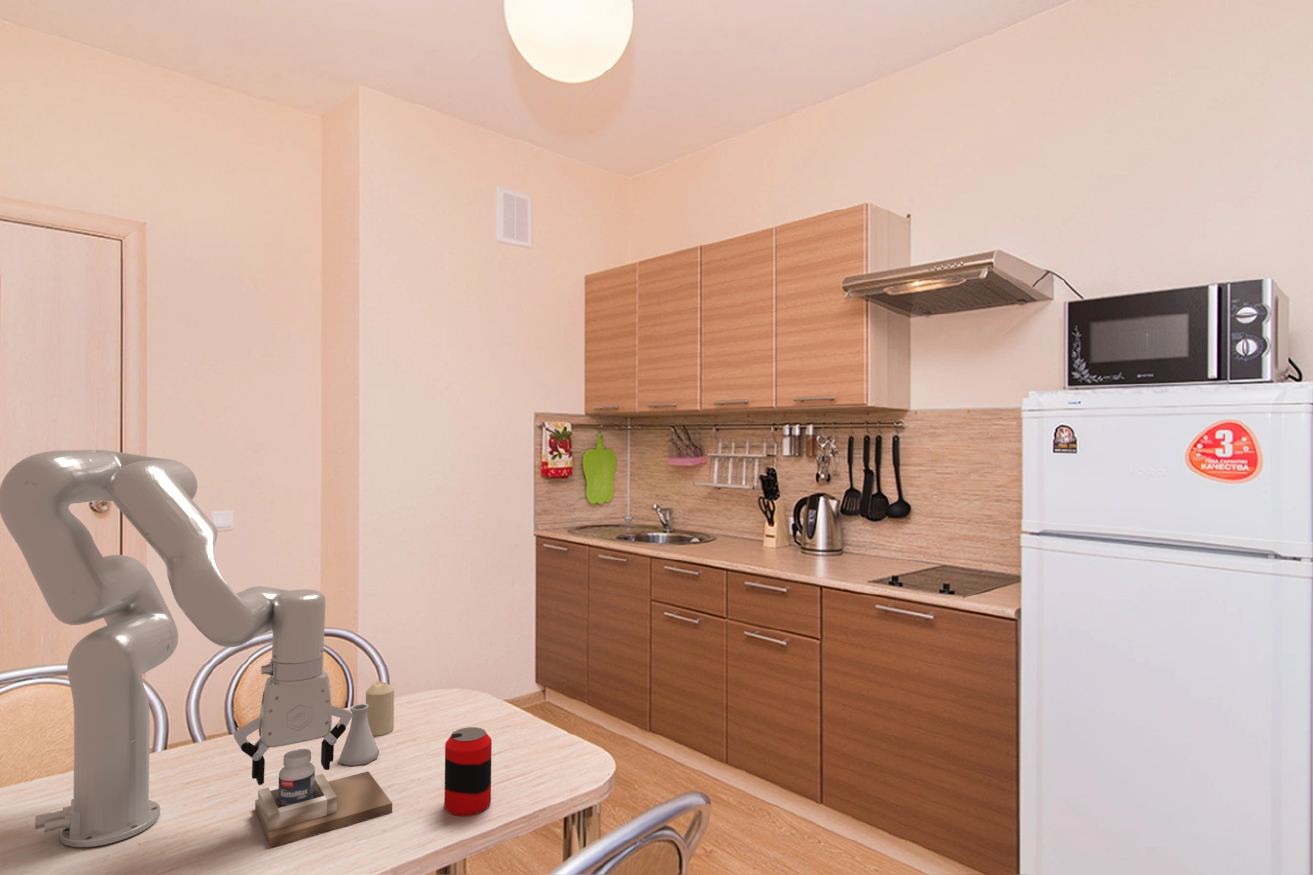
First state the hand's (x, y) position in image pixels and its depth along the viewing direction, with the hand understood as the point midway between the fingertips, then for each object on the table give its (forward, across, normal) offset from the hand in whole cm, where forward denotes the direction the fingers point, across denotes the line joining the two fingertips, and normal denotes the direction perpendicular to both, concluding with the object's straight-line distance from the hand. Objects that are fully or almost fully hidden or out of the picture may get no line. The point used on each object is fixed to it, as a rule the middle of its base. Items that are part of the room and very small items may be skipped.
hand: (293, 773), depth 117 cm
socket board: (+7, +5, 0) cm, 8 cm away
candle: (+7, +22, +28) cm, 36 cm away
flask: (+7, +15, +17) cm, 23 cm away
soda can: (+7, +25, -12) cm, 28 cm away
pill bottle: (+6, +1, 0) cm, 6 cm away
